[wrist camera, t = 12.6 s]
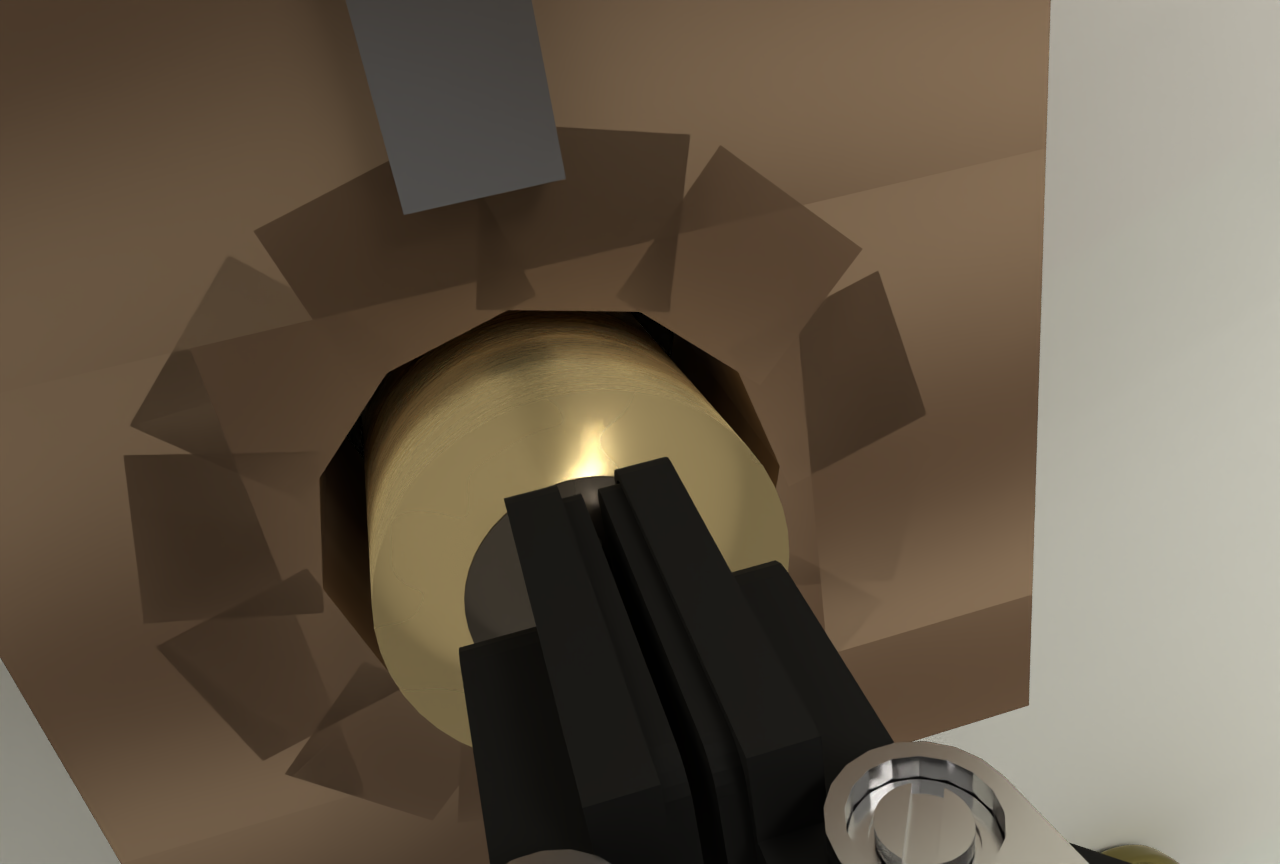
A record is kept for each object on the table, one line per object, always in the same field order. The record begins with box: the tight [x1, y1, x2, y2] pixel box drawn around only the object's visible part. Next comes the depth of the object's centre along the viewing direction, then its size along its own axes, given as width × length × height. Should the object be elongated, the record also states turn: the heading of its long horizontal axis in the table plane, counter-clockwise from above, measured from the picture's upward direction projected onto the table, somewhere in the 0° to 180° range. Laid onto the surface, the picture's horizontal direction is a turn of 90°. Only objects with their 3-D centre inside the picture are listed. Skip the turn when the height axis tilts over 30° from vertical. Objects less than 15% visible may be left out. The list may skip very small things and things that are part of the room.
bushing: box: [362, 310, 789, 747], centre depth 14 cm, size 4×4×7 cm
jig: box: [0, 0, 1051, 864], centre depth 13 cm, size 18×13×6 cm
